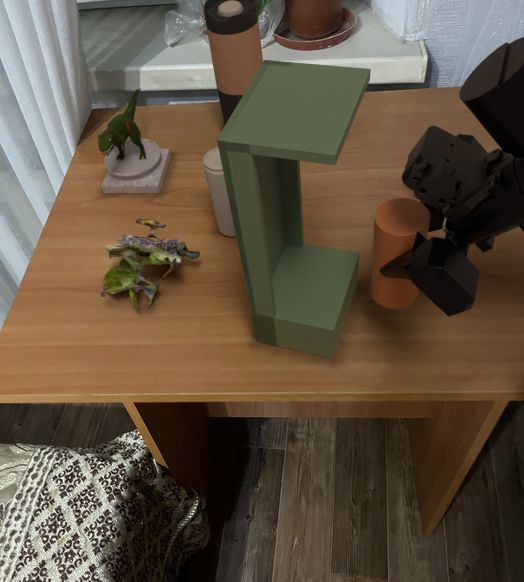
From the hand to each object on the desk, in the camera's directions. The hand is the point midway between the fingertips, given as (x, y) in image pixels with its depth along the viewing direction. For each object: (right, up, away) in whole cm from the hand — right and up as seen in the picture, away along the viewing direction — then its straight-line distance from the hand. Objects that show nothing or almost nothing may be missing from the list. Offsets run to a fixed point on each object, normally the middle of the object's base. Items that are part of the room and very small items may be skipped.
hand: (388, 253), depth 58 cm
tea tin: (+2, -3, +4) cm, 6 cm away
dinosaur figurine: (-33, +20, +33) cm, 51 cm away
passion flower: (-28, -1, +18) cm, 33 cm away
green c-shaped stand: (-6, -5, +13) cm, 15 cm away
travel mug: (-16, +27, +36) cm, 47 cm away
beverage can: (-17, +8, +23) cm, 30 cm away
